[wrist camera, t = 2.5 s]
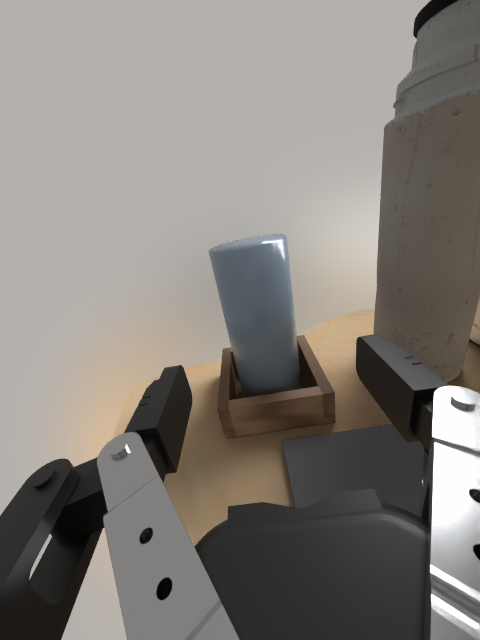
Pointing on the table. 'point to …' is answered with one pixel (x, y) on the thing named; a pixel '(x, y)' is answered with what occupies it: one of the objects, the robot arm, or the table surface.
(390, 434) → the mat
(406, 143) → the thermos bottle
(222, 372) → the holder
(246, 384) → the jug
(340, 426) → the table surface
